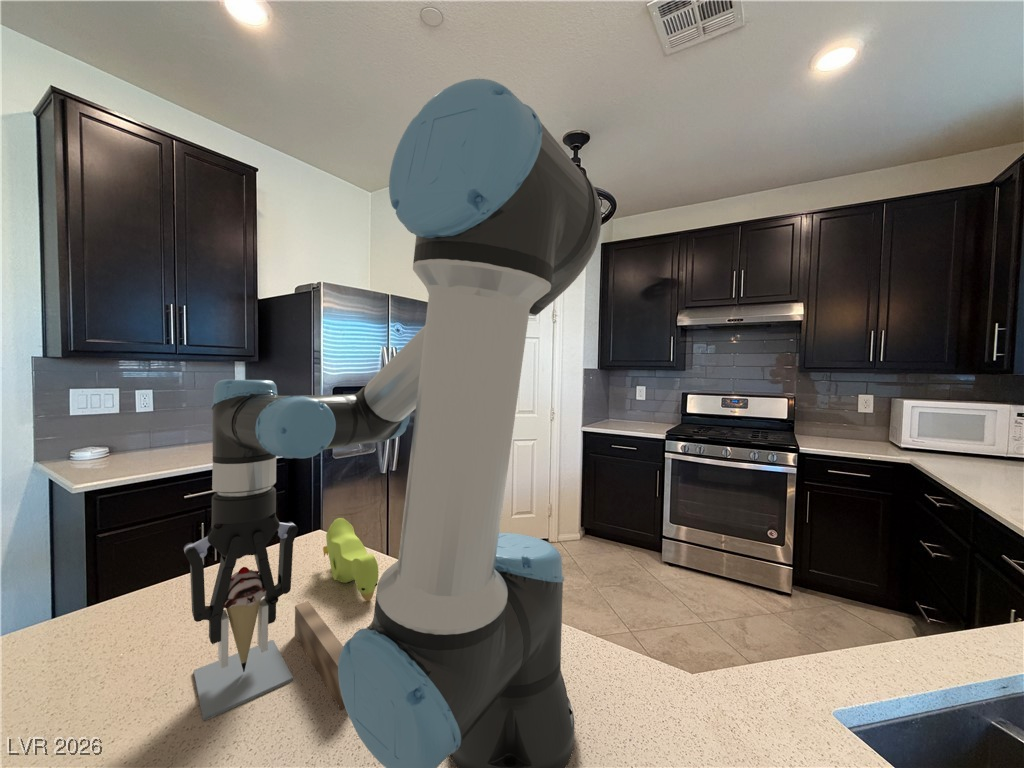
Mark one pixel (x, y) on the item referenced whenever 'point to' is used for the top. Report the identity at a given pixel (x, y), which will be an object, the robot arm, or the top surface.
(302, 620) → the walnut wall
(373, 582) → the toy
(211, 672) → the grey mat
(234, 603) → the ice cream cone
